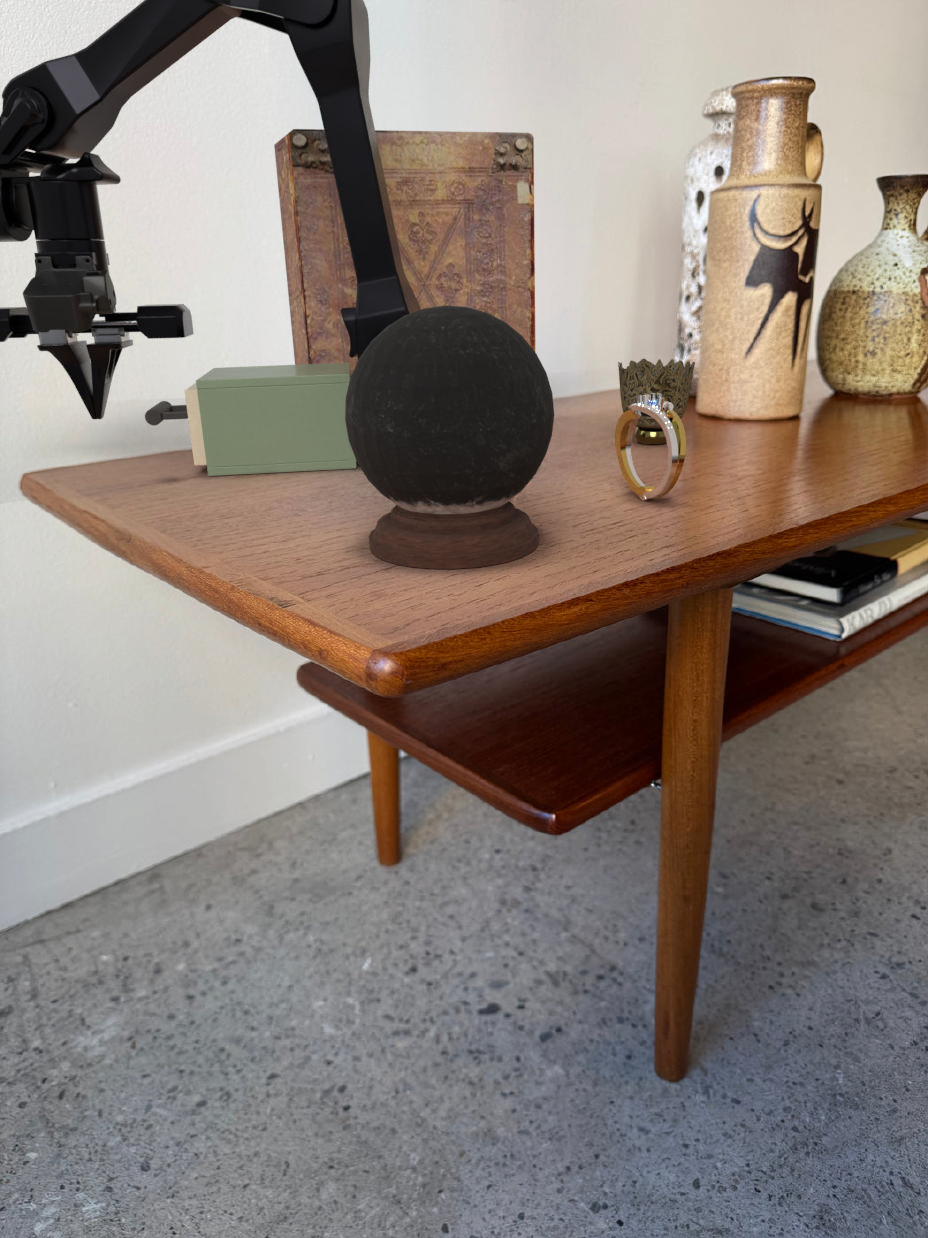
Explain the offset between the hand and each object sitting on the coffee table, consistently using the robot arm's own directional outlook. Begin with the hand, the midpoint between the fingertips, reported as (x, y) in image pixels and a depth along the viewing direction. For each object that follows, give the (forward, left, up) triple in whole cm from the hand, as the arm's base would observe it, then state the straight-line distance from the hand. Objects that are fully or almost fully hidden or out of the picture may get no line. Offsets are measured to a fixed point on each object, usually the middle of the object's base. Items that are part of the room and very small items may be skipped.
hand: (97, 418), depth 87 cm
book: (-31, -14, -5) cm, 35 cm away
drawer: (-13, 0, -4) cm, 14 cm away
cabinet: (-17, 0, -5) cm, 18 cm away
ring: (-46, +24, -5) cm, 52 cm away
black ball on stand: (-30, +33, -5) cm, 45 cm away
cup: (-54, 0, -5) cm, 54 cm away
